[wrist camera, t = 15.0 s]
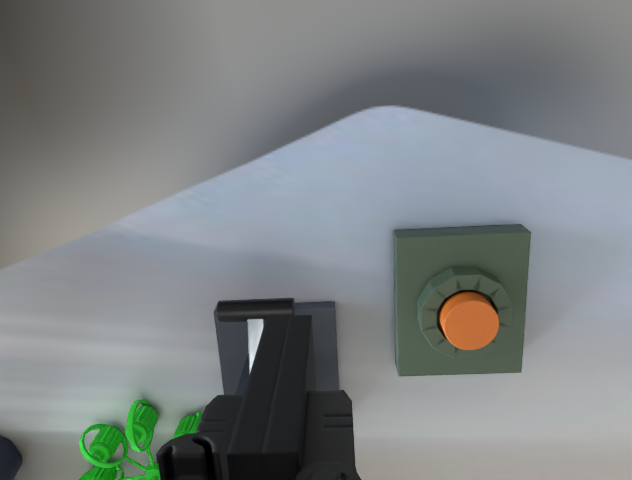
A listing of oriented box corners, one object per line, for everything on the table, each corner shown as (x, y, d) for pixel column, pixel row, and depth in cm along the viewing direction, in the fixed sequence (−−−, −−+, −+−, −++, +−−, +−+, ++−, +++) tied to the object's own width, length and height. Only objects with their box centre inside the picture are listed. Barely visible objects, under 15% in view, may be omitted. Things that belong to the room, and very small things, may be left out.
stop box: (393, 229, 41) (399, 245, 37) (520, 224, 40) (540, 238, 37) (395, 362, 44) (401, 389, 41) (512, 358, 44) (529, 385, 40)
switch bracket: (216, 305, 44) (165, 403, 30) (334, 301, 43) (334, 398, 30) (231, 426, 47) (191, 560, 34) (340, 423, 46) (343, 557, 33)
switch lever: (222, 299, 35) (214, 302, 33) (295, 296, 35) (291, 299, 33) (229, 478, 35) (221, 494, 32) (302, 476, 35) (299, 492, 32)
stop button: (439, 292, 39) (444, 301, 37) (493, 290, 38) (500, 299, 37) (438, 340, 40) (443, 351, 38) (491, 338, 40) (498, 349, 38)
